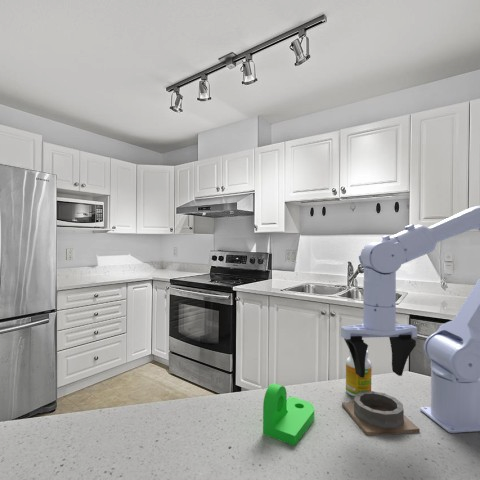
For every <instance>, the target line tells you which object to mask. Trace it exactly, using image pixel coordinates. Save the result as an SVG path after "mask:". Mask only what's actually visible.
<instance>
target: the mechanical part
mask: <svg viewBox="0 0 480 480" xmlns="http://www.w3.org/2000/svg"><path fill="white" fill-rule="evenodd" d="M287 394H288V393H287V389H286V387H285V386H284V385H280V384H277V383H273V382H271V383H270V384H269V385H268V387H267V388H266V391H265V393H264V397H263V403H262V404H263V405H262V435H264V436H267V437H270V438H272V439H275V440H278V441H281V442H284V443H286V444H289V445H292V446H296V445H297V444H298V442H299V441H300V440H301V438H302V437H303V436H304V434H305V433H306V432H307V431H308V429H309V428H310V427H311V425H312V423H313V422H314V420H315V406H314V405H313V403H311V402H309V401H307V400H304V399H302V398H298V397H295V396H289V397H287Z"/></svg>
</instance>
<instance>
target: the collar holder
mask: <svg viewBox="0 0 480 480" xmlns="http://www.w3.org/2000/svg"><path fill="white" fill-rule="evenodd" d="M353 400H354V401H353V402H351V401H350V402H348V401H347V402H342V403H341V406H342V407H343V409H344V410H345V412H346V413H347V414H348V415H349V416H350V417H351V418H352V420H353V421H354V422H355V423H356V424H357V426H358V427H359V428H360V429H361V430H362V432H363V433H364V434H365V435H366V436H377V435H378V436H380V435H394V434H397V435H398V434H411V433H412V434H413V433H420V430H421V429H420V428H419V427H418V426H417V425H416V423H413V421H412V420H410V419H409V418H408V417H407V416H406V415H405V414H404V412H405V411H404V409H405V408H404V404H403V403H402V402H401V401H400V400H398V398H396V397H394V396H391V395H389V394H387V393H383V392H378V391H373V390H371V391H363V392H360V393H358V394H355V397H354V398H353Z"/></svg>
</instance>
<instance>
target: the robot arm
mask: <svg viewBox="0 0 480 480" xmlns="http://www.w3.org/2000/svg"><path fill="white" fill-rule="evenodd" d="M471 230H478V231H479V232H480V205H475V206H471V207H469V208H466V209H464V210H462V211H460V212H458V213H456V214H454V215H451V216H450V217H447V218H445V219H443V220H441V221H439V222H437V223H434V224H432V225H430V226H428V227H427V226H424V225H422V224H416V225H415V224H413V223H412V224H409V225H406V226H404V230H402V231H399V232H398V233H395V234H393V235H391V236H390V235H383V236H382V237H381V238H382V241H381V242H379V241H378V242H370V243H368V244H366V245H365V246H364V247H363V248H362V250H361V251H360V255H358V261H359V263H360V265H361V266H362V267H363V293H362V294H363V297H362V298H363V300H362V301H363V308H362V309H363V312H362V313H363V315H362V316H363V317H362V319H363V320H362V323H361V324H360V323H359V324H353V325H352V324H351V325H345V326H340V336H341V338H343V340H344V342H345V343H346V346H347V348H348V350H350V352H351V355H352V358H353V362H354V366H355V371H356V374H357V375H358V376H360V377H364V376H365V357H366V352H367V350H368V347H369V345H368V344H367V343H366V342H365V341H364V340H365V339H366V338H368V339H369V338H389V342H390V350H391V369H392V372H393V373H394V374H395V375H397V376H398V377H402V376H403V374H404V369H405V365H406V363H407V361H408V359H409V356H410V354H411V353H412V351H413V350H414V348H415V347H416V345H417V341H416V339H414V338H418V327H417V326H414V325H412V324H398V323H396V318H397V316H396V314H397V313H396V310H397V308H396V305H397V304H396V303H397V301H396V300H397V297H396V296H397V294H396V293H397V292H396V291H397V287H396V286H397V284H396V283H397V281H396V280H397V278H396V277H397V271H398V270H399V269H400V268H401V266H402V265H404V264H406V263H409V262H410V261H413V260H416V259H418V258H420V257H423V256H425V255H428V254H430V253H432V252H433V251H434V250H435V249H436V246H437V243H439V242H441V241H445V240H447V239H449V238H452V237H456V236H458V235H460V234H463V233H465V232H469V231H471ZM363 338H365V339H363ZM424 341H425V342H424V345H423V349H424V353H425V357H427V359H429V360H430V374H431V375H430V406H420V408H419V410H420V411H421V412H422V413H424V414H425V416H427V417H428V418H429V419H431V420H432V421H433V422H434V423H436V424H438V425H439V427H442V429H444V430H445V431H446V432H447V433H450V434H453V433H454V434H457V433H468V432H469V433H471V432H472V433H473V432H480V277H479V278H478V280H477V281H476V283H475V284H474V286H473V288H472V289H471V291H470V293H469V294H468V296H467V297H466V299H465V301H463V304H462V305H461V307H460V308H459V311H458V312H457V313H456V315H455V317H454V318H453V319H452V320H449V321H447V322H445V323H442V324H440V326H439V327H438V329H437V330H436V331H435V332H434V333H432V334H430V335H429V336H427V338H426V339H425V340H424Z"/></svg>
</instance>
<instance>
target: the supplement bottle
mask: <svg viewBox="0 0 480 480" xmlns="http://www.w3.org/2000/svg"><path fill="white" fill-rule="evenodd" d="M348 350H349V349H348ZM348 353H349V356H348V357H347V358H346V359H345V392H346V393H347V394H348V395H350V396H352V397H354V398H355V394H358V393H360V392H363V391H372V368H373V367H372V362H371V360H370V359H369V350H368V349H367V352H366V357H365V376H364V377H360V376H358V375H357V374H356V371H355V366H354V362H353V358H352V355H351V352H350V350H349V352H348Z"/></svg>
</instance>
